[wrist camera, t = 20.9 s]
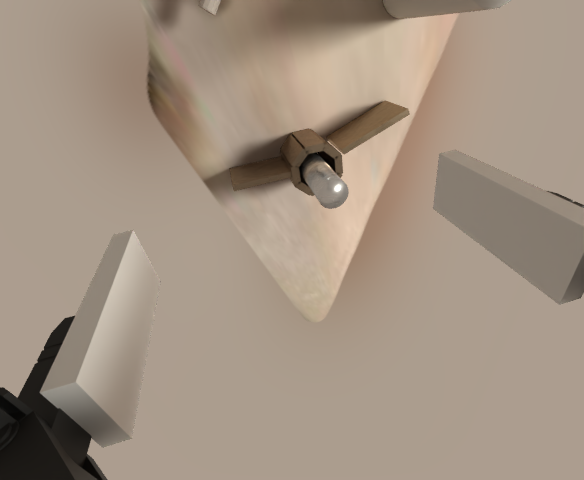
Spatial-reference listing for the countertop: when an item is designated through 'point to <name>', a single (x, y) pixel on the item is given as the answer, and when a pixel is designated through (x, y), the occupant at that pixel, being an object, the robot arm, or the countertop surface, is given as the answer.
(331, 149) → the knuckle and fixed leaf
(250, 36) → the countertop surface
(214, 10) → the pipe connector
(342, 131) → the loose leaf
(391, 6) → the bottle
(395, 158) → the countertop surface
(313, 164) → the hinge pin
